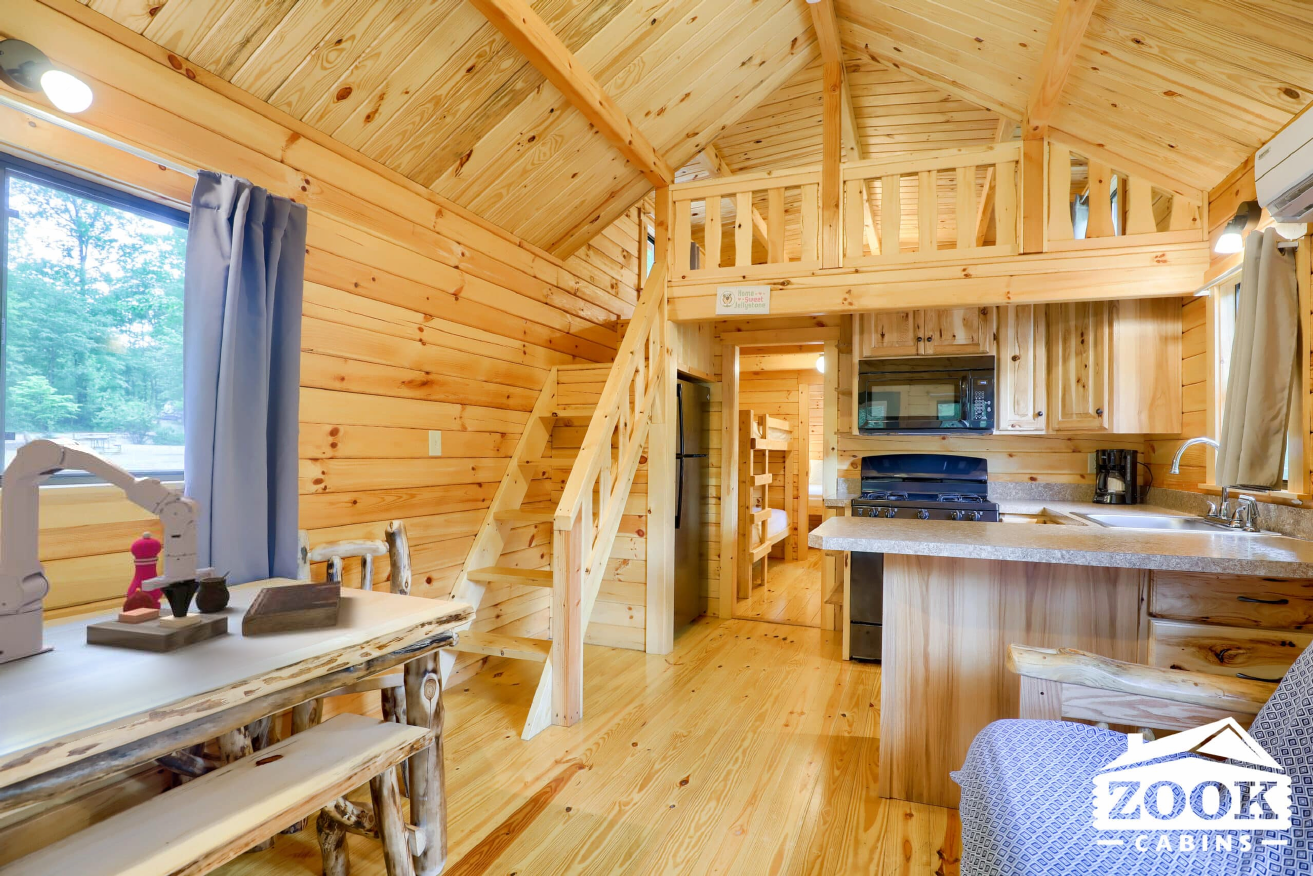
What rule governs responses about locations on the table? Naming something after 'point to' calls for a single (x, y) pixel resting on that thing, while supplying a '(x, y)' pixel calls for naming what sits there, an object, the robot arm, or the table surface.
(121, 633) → the key bed
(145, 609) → the terracotta key
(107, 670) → the table surface
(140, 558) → the pepper mill
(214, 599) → the mate gourd
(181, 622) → the cream key
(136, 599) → the onion
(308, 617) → the hardback book
